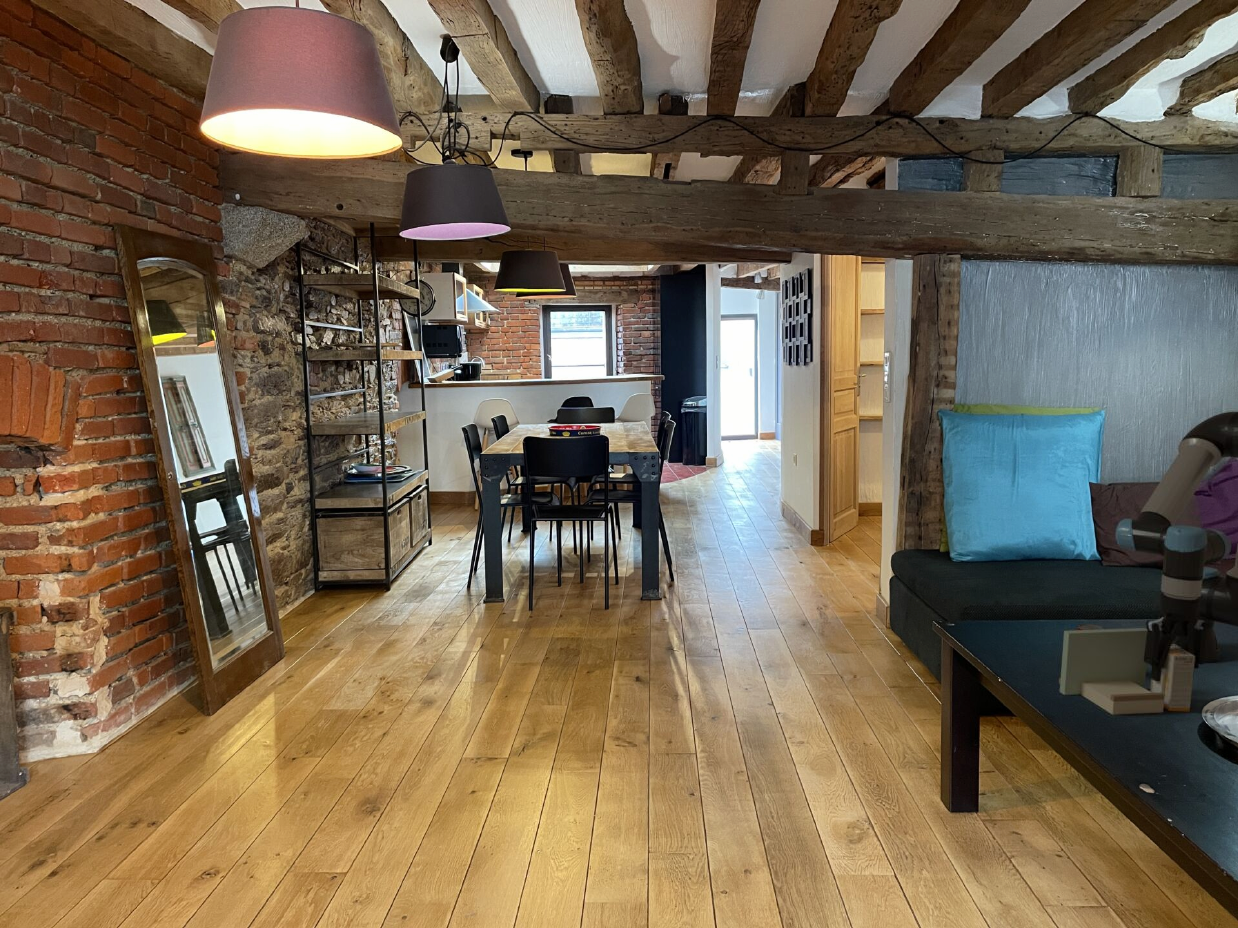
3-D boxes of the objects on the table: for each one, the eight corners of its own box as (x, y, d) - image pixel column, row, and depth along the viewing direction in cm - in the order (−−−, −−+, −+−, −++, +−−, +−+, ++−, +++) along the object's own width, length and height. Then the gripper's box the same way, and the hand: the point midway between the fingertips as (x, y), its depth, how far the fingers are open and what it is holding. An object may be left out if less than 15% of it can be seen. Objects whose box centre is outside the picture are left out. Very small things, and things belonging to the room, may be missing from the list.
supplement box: (1191, 712, 185) (1196, 656, 183) (1168, 711, 185) (1173, 655, 183) (1170, 696, 193) (1175, 643, 191) (1148, 696, 193) (1153, 642, 191)
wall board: (1124, 680, 202) (1129, 621, 200) (1179, 711, 185) (1185, 647, 183) (1046, 683, 201) (1051, 623, 199) (1095, 715, 183) (1100, 650, 181)
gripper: (1205, 589, 190) (1195, 685, 193) (1130, 590, 188) (1121, 688, 191) (1232, 599, 182) (1221, 699, 186) (1154, 600, 181) (1144, 701, 184)
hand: (1170, 693), depth 188 cm, fingers closed on supplement box, 5 cm apart
